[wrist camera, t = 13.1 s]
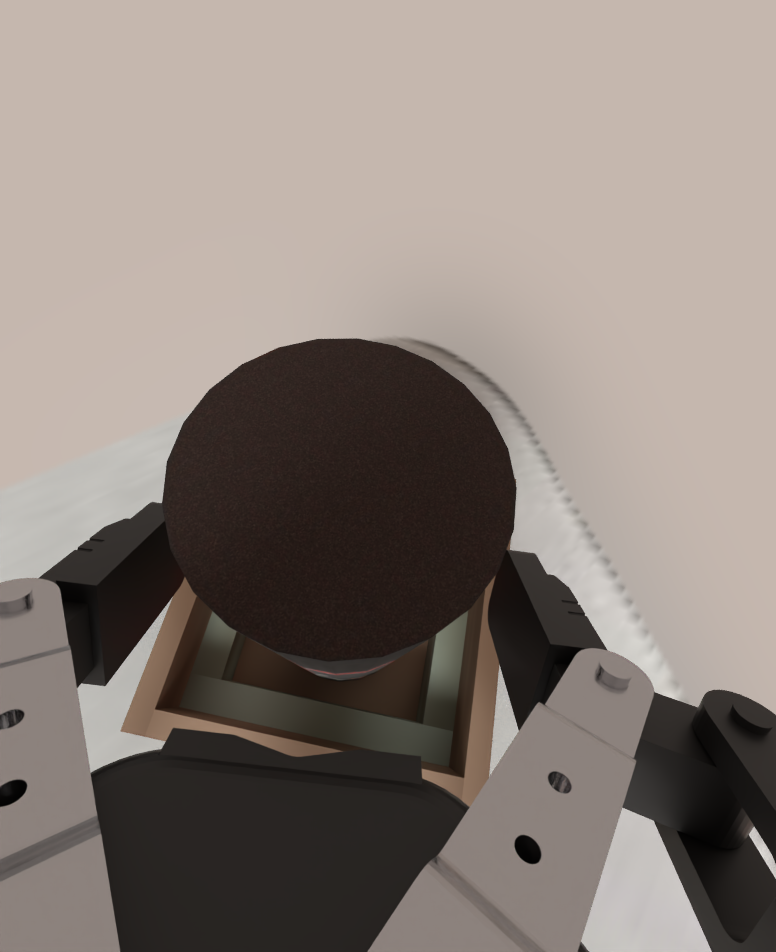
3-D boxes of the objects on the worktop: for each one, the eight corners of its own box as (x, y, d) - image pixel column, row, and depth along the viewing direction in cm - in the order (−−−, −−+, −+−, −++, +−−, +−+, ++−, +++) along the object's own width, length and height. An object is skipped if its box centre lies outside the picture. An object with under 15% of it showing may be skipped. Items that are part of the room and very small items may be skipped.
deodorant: (308, 532, 23) (255, 303, 9) (424, 571, 23) (542, 391, 9) (257, 655, 21) (86, 586, 7) (387, 701, 20) (474, 720, 7)
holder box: (171, 721, 20) (120, 731, 15) (261, 469, 25) (242, 419, 20) (452, 784, 20) (485, 812, 15) (484, 518, 25) (516, 479, 20)
